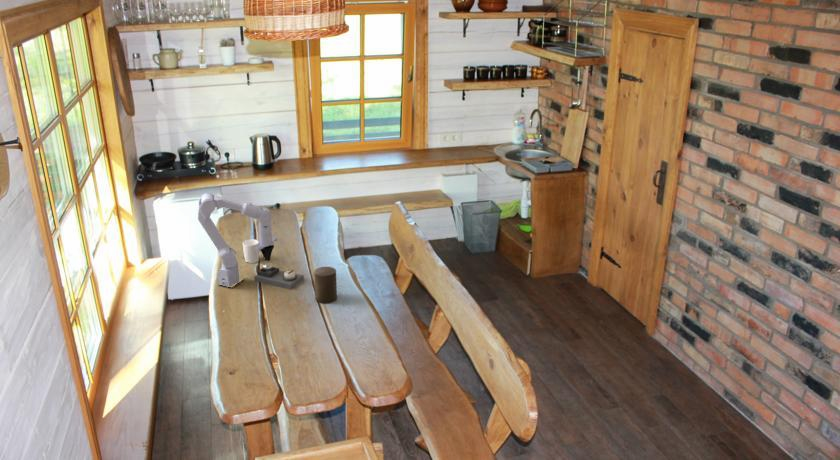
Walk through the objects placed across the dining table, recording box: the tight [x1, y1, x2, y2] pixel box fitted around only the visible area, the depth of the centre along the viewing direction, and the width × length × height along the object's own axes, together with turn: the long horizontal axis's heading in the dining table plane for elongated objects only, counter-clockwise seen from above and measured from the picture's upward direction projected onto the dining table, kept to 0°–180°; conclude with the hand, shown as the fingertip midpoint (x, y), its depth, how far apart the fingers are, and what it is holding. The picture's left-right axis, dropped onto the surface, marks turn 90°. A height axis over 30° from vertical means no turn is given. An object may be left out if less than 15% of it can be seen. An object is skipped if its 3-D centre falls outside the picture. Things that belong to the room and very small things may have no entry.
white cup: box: [242, 238, 260, 264], centre depth 352 cm, size 8×8×10 cm
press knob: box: [262, 262, 274, 271], centre depth 333 cm, size 4×4×2 cm
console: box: [254, 266, 305, 290], centre depth 332 cm, size 11×20×4 cm, turn 66°
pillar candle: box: [314, 266, 338, 304], centre depth 315 cm, size 10×10×15 cm
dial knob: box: [284, 269, 296, 279], centre depth 329 cm, size 5×5×2 cm
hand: (267, 260), depth 332 cm, fingers closed
